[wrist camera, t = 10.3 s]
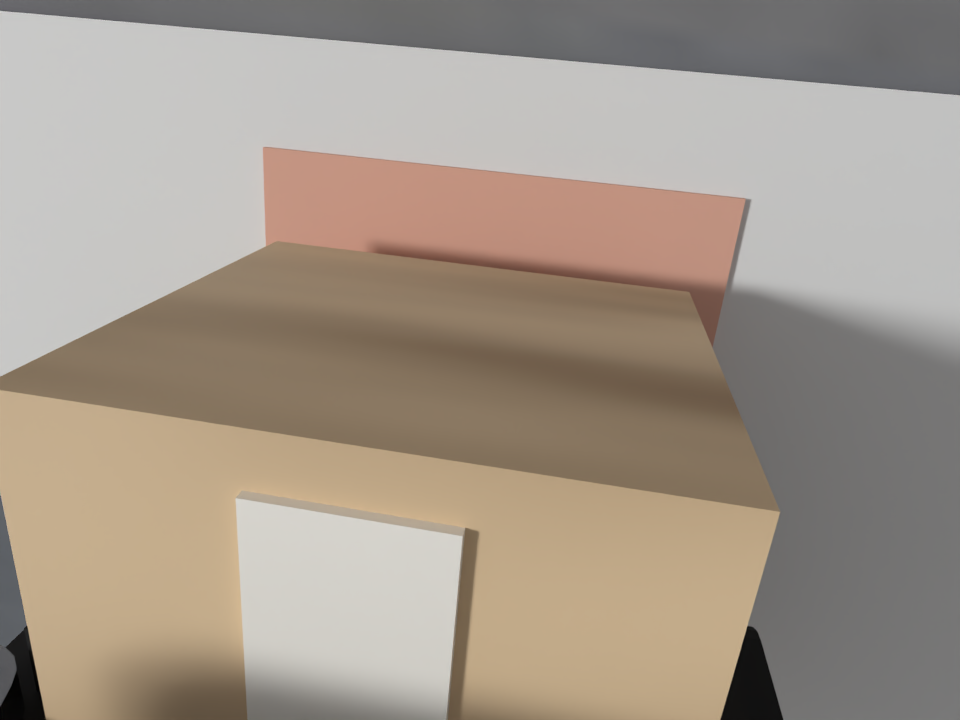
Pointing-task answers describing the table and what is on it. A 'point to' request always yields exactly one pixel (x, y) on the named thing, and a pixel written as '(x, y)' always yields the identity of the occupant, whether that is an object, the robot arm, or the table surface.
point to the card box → (385, 499)
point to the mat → (560, 262)
